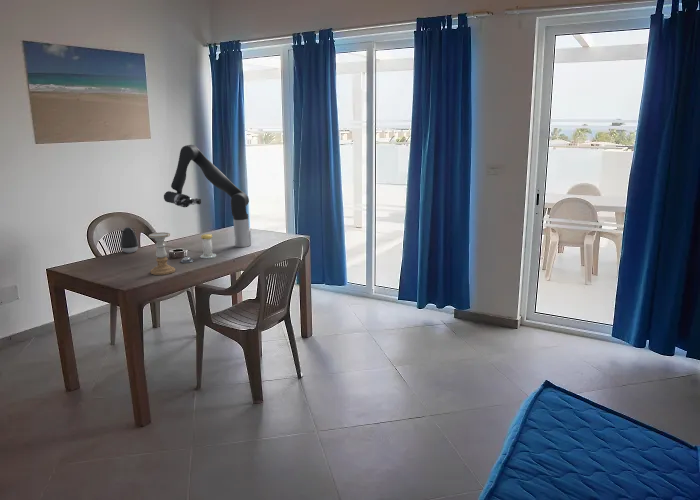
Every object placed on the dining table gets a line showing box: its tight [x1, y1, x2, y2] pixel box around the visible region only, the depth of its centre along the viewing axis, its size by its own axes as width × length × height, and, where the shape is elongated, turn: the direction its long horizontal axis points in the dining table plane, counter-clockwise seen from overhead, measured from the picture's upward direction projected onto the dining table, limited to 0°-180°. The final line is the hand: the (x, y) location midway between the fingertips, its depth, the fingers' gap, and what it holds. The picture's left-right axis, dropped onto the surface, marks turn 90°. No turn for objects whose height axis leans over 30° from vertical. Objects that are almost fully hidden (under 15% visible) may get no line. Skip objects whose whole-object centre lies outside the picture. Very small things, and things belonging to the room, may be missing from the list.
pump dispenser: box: [119, 227, 139, 254], centre depth 320 cm, size 10×10×15 cm
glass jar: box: [200, 233, 214, 257], centre depth 307 cm, size 6×6×12 cm
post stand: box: [180, 256, 194, 264], centre depth 298 cm, size 7×7×2 cm
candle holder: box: [148, 232, 176, 276], centre depth 275 cm, size 12×12×20 cm
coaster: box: [200, 253, 217, 259], centre depth 309 cm, size 9×9×1 cm
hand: (192, 203), depth 310 cm, fingers open, 8 cm apart
